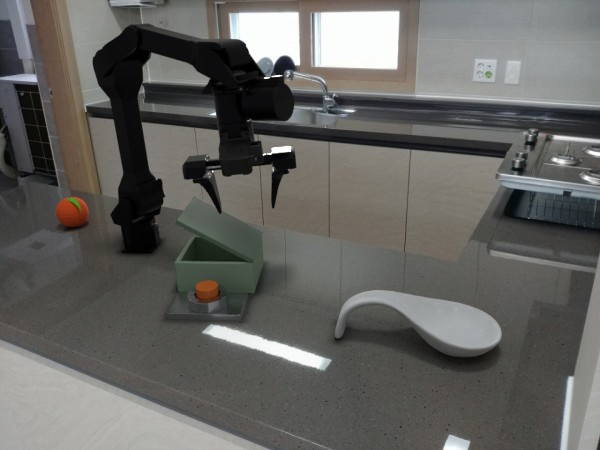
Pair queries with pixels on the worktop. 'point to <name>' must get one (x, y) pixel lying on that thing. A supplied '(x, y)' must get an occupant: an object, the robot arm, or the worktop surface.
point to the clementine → (72, 212)
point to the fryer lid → (220, 229)
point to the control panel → (208, 306)
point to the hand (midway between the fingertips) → (246, 210)
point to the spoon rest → (433, 321)
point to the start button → (207, 290)
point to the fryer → (217, 267)
